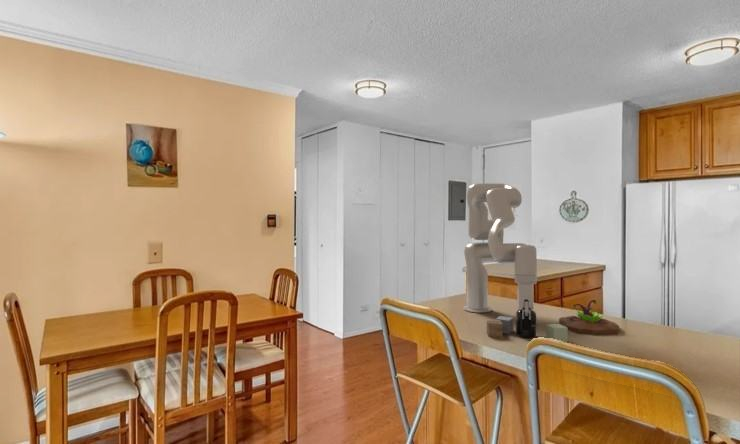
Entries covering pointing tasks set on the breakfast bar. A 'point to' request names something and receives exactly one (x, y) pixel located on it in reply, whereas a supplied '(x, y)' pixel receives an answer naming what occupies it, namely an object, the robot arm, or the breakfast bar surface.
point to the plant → (589, 322)
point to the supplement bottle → (519, 325)
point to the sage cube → (557, 332)
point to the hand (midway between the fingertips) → (526, 326)
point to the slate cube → (506, 324)
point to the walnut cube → (494, 328)
